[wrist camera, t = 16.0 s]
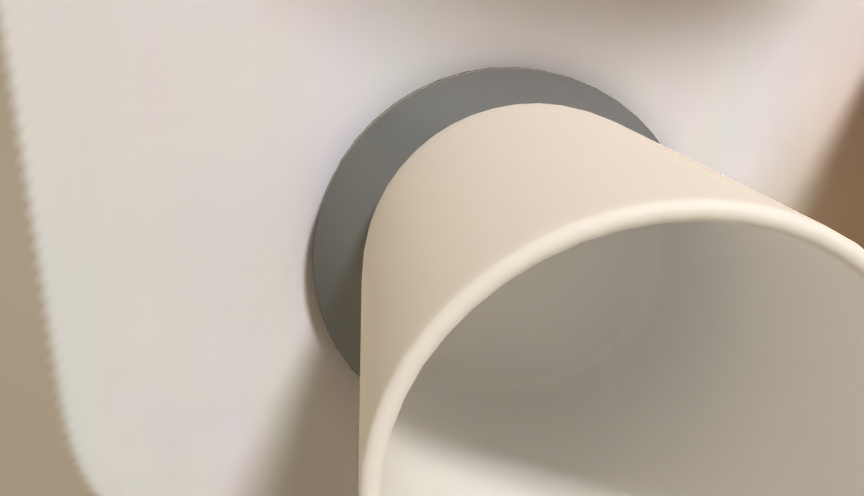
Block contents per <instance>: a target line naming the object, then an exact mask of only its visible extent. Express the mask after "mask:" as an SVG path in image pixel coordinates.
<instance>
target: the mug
mask: <svg viewBox="0 0 864 496" xmlns="http://www.w3.org/2000/svg"><path fill="white" fill-rule="evenodd" d="M358 496H864V249H863V248H862V247H860V246H859V245H858V244H857V243H855V242H853V241H852V240H850V239H848V238H846V237H845V236H843V235H841V234H839V233H837V232H836V231H834V230H832V229H830V228H829V227H827V226H825V225H823V224H821V223H819V222H817V221H815V220H813V219H811V218H809V217H807V216H805V215H803V214H801V213H799V212H797V211H795V210H793V209H791V208H789V207H787V206H785V205H783V204H781V203H779V202H777V201H775V200H773V199H771V198H768V197H766V196H764V195H762V194H760V193H758V192H756V191H754V190H752V189H750V188H748V187H746V186H744V185H742V184H740V183H738V182H736V181H734V180H732V179H730V178H728V177H726V176H724V175H722V174H720V173H718V172H716V171H714V170H712V169H710V168H708V167H706V166H704V165H701V164H699V163H697V162H695V161H693V160H691V159H689V158H687V157H685V156H683V155H681V154H679V153H677V152H675V151H673V150H671V149H669V148H667V147H665V146H663V145H661V144H659V143H657V142H655V141H653V140H651V139H649V138H647V137H645V136H643V135H641V134H639V133H637V132H635V131H632V130H630V129H628V128H626V127H624V126H622V125H620V124H618V123H616V122H614V121H611V120H609V119H606V118H604V117H601V116H599V115H596V114H594V113H591V112H588V111H584V110H580V109H576V108H571V107H567V106H563V105H554V104H543V103H531V104H515V105H509V106H503V107H498V108H493V109H490V110H486V111H483V112H480V113H477V114H474V115H471V116H469V117H466V118H464V119H462V120H460V121H458V122H456V123H454V124H451V125H450V126H448V127H447V128H445V129H444V130H442V131H440V132H439V133H437V134H436V135H434V136H433V137H431V138H430V139H429V140H428V141H427V142H425V143H424V144H423V145H422V146H421V147H419V148H418V149H417V150H416V151H415V152H414V153H413V154H412V155H411V156H410V157H409V158H408V160H407V161H406V162H405V163H404V164H403V165H402V166H401V167H400V168H399V170H398V171H397V173H396V174H395V175H394V177H393V178H392V180H391V181H390V182H389V184H388V185H387V187H386V189H385V191H384V193H383V195H382V197H381V198H380V200H379V202H378V204H377V206H376V209H375V212H374V215H373V217H372V220H371V223H370V226H369V230H368V235H367V239H366V244H365V248H364V256H363V268H362V288H361V349H360V410H359V471H358Z"/></svg>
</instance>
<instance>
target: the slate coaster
mask: <svg viewBox="0 0 864 496" xmlns="http://www.w3.org/2000/svg"><path fill="white" fill-rule="evenodd" d="M531 103H543V104H554V105H563V106H567V107H571V108H576V109H580V110H584V111H588V112H591V113H594V114H596V115H599V116H601V117H604V118H606V119H609V120H611V121H614V122H616V123H618V124H620V125H622V126H624V127H626V128H628V129H630V130H632V131H635V132H637V133H639V134H641V135H643V136H645V137H647V138H649V139H651V140H653V141H655V142H657V143H659V142H658V140H657V139H656V138H655V136H654V135H653V134H652V132H651V131H650V130H649V129H648V128H647V127H646V126H645V125H644V124H643V123H642V122H641V121H640V120H639V118H638V117H637V116H635V115H634V114H633V113H632V112H630V111H629V110H628V109H627V108H625V107H624V106H623V105H622V104H620V103H619V102H618V101H616V100H615V99H613V98H611V97H610V96H608V95H606V94H604V93H603V92H601V91H599V90H598V89H596V88H594V87H591V86H589V85H586V84H584V83H582V82H579V81H577V80H574V79H572V78H569V77H566V76H563V75H559V74H555V73H551V72H547V71H543V70H536V69H528V68H519V67H504V68H486V69H480V70H474V71H467V72H463V73H459V74H456V75H453V76H449V77H446V78H443V79H439V80H437V81H435V82H433V83H431V84H428V85H426V86H424V87H422V88H420V89H417V90H415V91H414V92H412V93H410V94H409V95H407V96H406V97H404V98H402V99H401V100H399V101H397V102H396V103H394V104H393V105H392V106H390V107H389V108H388V109H387V110H386V111H384V112H383V113H382V114H381V115H379V116H378V117H377V118H376V119H375V120H373V121H372V122H371V124H370V125H369V126H368V127H367V128H366V129H365V130H364V131H363V132H362V133H361V134H360V135H359V136H358V137H357V139H356V140H355V141H354V142H353V144H352V145H351V147H350V148H349V149H348V151H347V152H346V154H345V155H344V157H343V158H342V159H341V161H340V163H339V165H338V167H337V169H336V170H335V172H334V174H333V176H332V178H331V180H330V182H329V185H328V187H327V190H326V193H325V196H324V198H323V201H322V204H321V207H320V212H319V217H318V221H317V226H316V231H315V236H314V250H313V271H314V285H315V289H316V294H317V299H318V304H319V308H320V311H321V313H322V316H323V319H324V322H325V324H326V327H327V330H328V331H329V333H330V335H331V337H332V339H333V341H334V343H335V345H336V347H337V349H338V350H339V351H340V353H341V354H342V356H343V357H344V358H345V360H346V361H347V363H348V364H349V365H350V367H351V368H352V369H353V370H354V371H355V372H356V373H357V374H358V375H359V376H360V349H361V288H362V268H363V256H364V248H365V244H366V239H367V235H368V230H369V226H370V223H371V220H372V217H373V215H374V212H375V209H376V206H377V204H378V202H379V200H380V198H381V197H382V195H383V193H384V191H385V189H386V187H387V185H388V184H389V182H390V181H391V180H392V178H393V177H394V175H395V174H396V173H397V171H398V170H399V168H400V167H401V166H402V165H403V164H404V163H405V162H406V161H407V160H408V158H409V157H410V156H411V155H412V154H413V153H414V152H415V151H416V150H417V149H418V148H419V147H421V146H422V145H423V144H424V143H425V142H427V141H428V140H429V139H430V138H431V137H433V136H434V135H436V134H437V133H439V132H440V131H442V130H444V129H445V128H447V127H448V126H450V125H451V124H454V123H456V122H458V121H460V120H462V119H464V118H466V117H469V116H471V115H474V114H477V113H480V112H483V111H486V110H490V109H493V108H498V107H503V106H509V105H515V104H531ZM659 144H660V143H659Z"/></svg>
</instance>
